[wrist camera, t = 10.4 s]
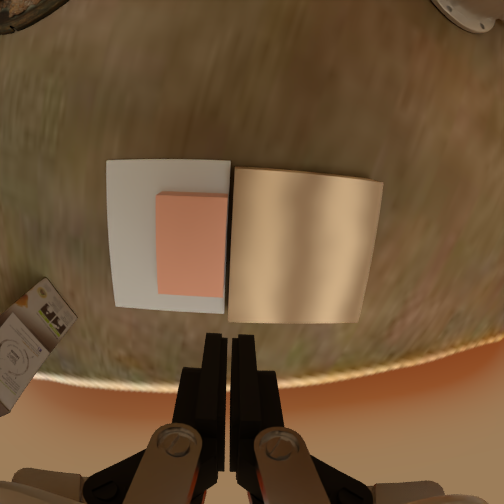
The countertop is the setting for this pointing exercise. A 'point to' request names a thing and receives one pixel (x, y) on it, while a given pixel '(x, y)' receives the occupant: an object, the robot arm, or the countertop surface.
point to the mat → (153, 226)
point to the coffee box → (29, 338)
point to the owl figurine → (25, 12)
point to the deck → (300, 245)
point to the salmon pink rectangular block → (191, 243)
